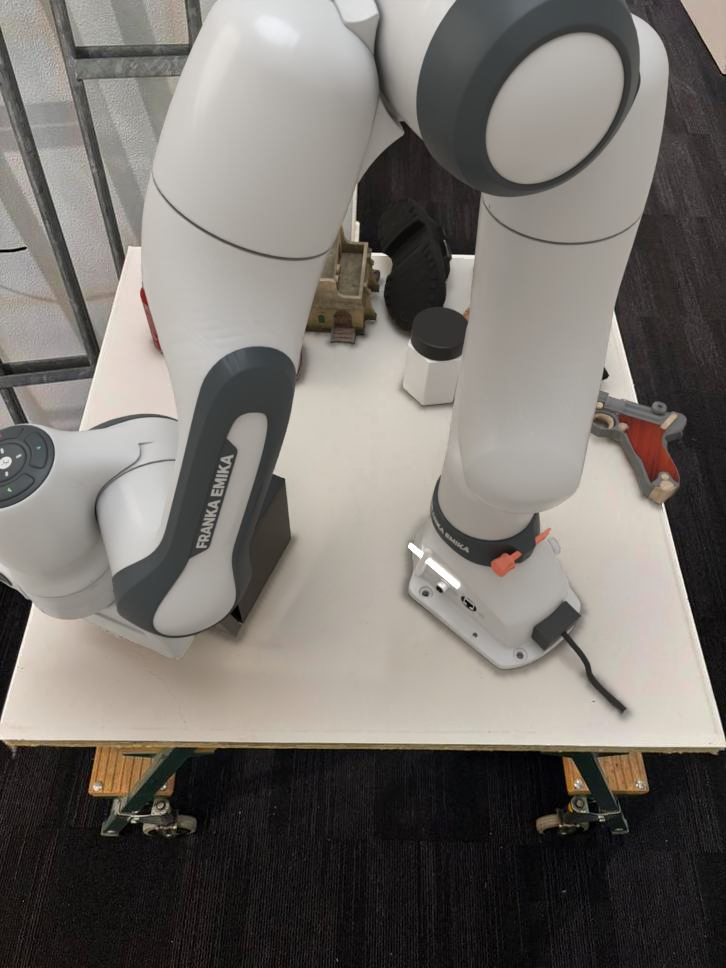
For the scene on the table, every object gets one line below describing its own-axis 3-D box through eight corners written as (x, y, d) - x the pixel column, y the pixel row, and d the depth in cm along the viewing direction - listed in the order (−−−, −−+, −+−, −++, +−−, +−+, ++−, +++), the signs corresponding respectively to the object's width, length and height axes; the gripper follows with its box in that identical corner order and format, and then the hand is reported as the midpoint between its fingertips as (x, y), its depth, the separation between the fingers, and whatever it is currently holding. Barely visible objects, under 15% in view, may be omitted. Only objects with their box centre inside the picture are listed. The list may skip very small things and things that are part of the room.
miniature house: (279, 340, 114) (268, 290, 104) (290, 272, 121) (281, 218, 110) (373, 345, 113) (372, 295, 103) (380, 276, 120) (380, 223, 109)
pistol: (680, 493, 96) (694, 410, 103) (491, 434, 100) (518, 359, 108) (669, 509, 99) (684, 427, 107) (486, 451, 104) (513, 377, 111)
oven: (243, 624, 88) (229, 572, 76) (116, 569, 91) (84, 511, 80) (291, 538, 94) (285, 478, 83) (171, 490, 98) (149, 426, 86)
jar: (471, 390, 109) (485, 332, 99) (431, 416, 106) (442, 359, 96) (431, 355, 113) (441, 296, 103) (392, 379, 110) (397, 321, 100)
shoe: (439, 297, 106) (482, 322, 113) (417, 178, 116) (457, 207, 122) (387, 335, 113) (430, 356, 120) (370, 220, 123) (410, 245, 129)
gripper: (195, 579, 64) (217, 639, 75) (3, 499, 68) (52, 567, 79) (156, 642, 60) (185, 694, 72) (-43, 554, 64) (15, 616, 76)
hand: (114, 627), depth 76 cm, fingers closed
